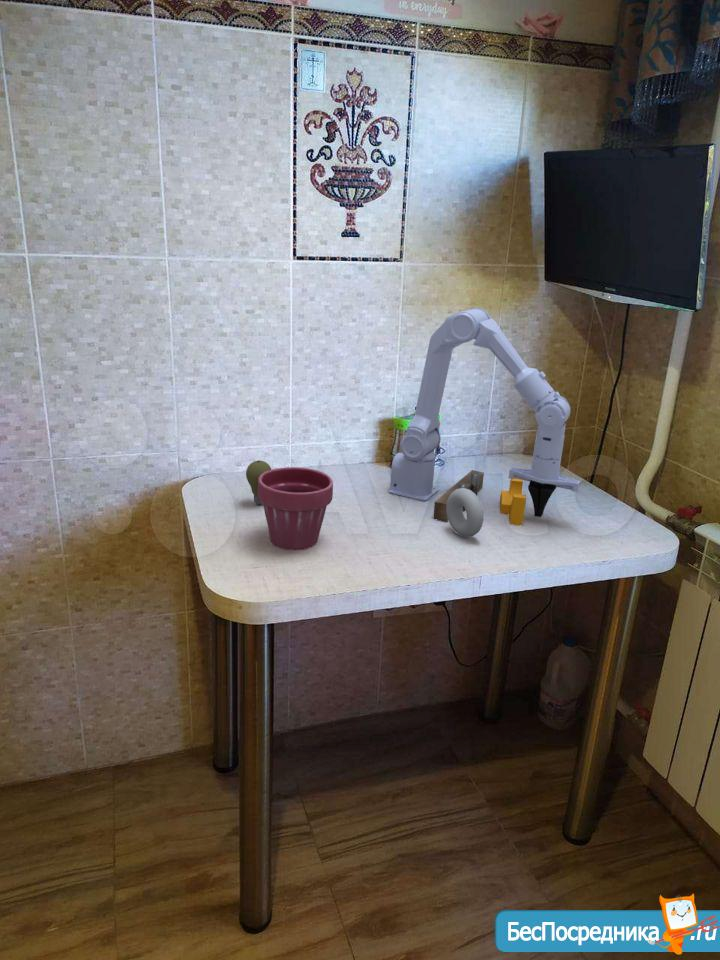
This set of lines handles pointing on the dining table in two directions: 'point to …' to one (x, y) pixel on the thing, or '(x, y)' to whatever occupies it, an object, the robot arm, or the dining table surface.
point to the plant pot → (294, 505)
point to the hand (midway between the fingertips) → (538, 515)
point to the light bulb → (256, 477)
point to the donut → (473, 512)
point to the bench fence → (469, 481)
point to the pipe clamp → (513, 502)
